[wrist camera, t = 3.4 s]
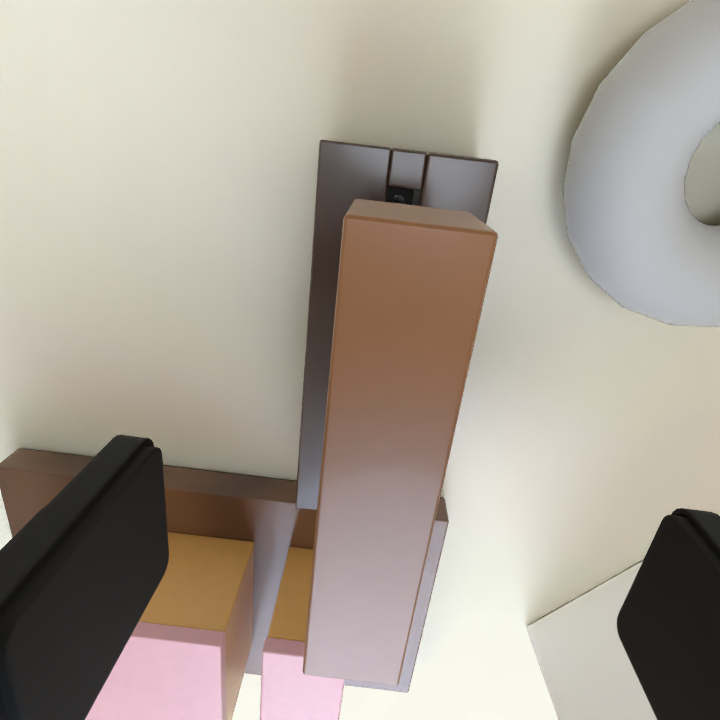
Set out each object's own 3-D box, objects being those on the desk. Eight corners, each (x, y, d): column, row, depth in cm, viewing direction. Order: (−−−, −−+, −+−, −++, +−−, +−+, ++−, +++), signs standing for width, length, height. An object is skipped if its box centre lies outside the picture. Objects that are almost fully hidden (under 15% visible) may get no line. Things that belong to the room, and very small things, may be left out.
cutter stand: (308, 455, 22) (295, 508, 18) (332, 141, 16) (319, 139, 13) (418, 468, 22) (423, 523, 18) (477, 158, 16) (500, 160, 13)
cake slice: (282, 647, 25) (257, 763, 20) (288, 544, 22) (261, 651, 17) (341, 654, 25) (331, 772, 20) (355, 552, 22) (347, 661, 17)
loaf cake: (59, 621, 25) (-16, 730, 20) (36, 514, 22) (-58, 613, 17) (253, 644, 25) (222, 758, 20) (255, 540, 22) (220, 646, 17)
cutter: (338, 440, 21) (301, 676, 12) (366, 176, 17) (343, 214, 7) (392, 446, 21) (399, 687, 12) (434, 184, 17) (499, 232, 7)
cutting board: (56, 623, 27) (39, 649, 26) (18, 447, 22) (-6, 467, 21) (407, 665, 27) (408, 693, 26) (445, 498, 22) (449, 521, 21)
